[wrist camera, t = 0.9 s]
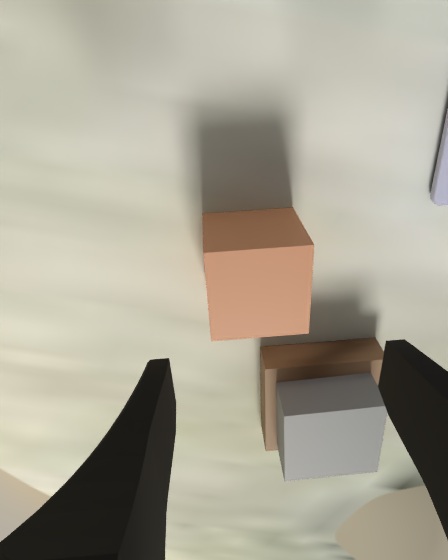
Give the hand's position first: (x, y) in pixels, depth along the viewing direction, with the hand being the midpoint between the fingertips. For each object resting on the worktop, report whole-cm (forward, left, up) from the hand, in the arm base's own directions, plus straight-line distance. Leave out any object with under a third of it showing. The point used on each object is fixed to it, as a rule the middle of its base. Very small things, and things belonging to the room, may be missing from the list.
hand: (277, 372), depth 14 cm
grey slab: (-4, +10, -7) cm, 13 cm away
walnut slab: (-4, +10, -10) cm, 14 cm away
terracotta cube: (0, 0, -9) cm, 9 cm away
